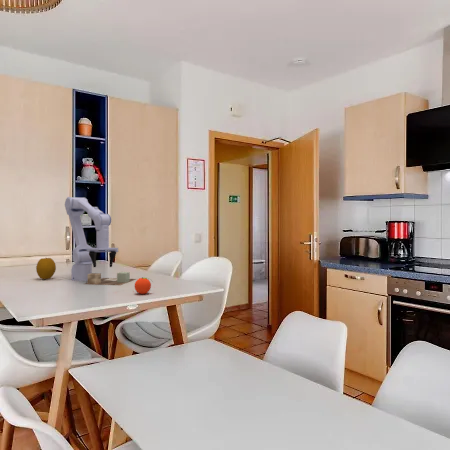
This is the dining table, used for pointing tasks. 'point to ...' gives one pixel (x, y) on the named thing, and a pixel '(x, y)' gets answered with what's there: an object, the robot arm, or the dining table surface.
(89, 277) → the beech block
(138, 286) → the tomato
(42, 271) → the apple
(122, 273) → the sage block
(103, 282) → the board
